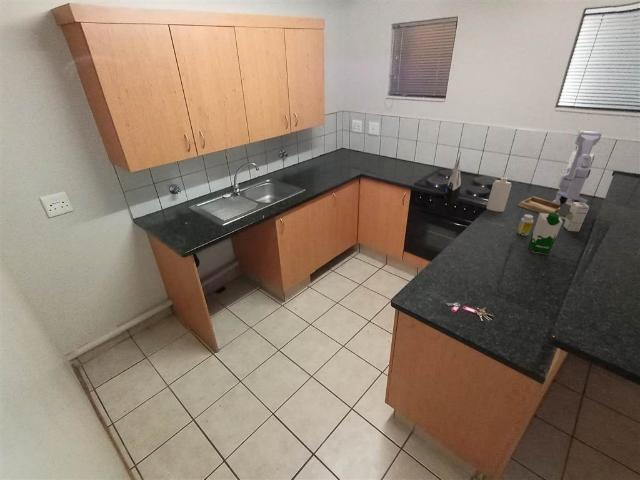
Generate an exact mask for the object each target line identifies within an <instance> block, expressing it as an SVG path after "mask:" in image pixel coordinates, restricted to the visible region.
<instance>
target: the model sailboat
mask: <svg viewBox="0 0 640 480" xmlns="http://www.w3.org/2000/svg"><path fill="white" fill-rule="evenodd" d="M461 154H462V151H460V153H459V155H461ZM460 159H461V156H459V157H458V159H457V161H456V163H455V165H454V167H453V168H452V171H451V173H450V176H449V180H448V181H447V184H446V187H445V188H446V189H445V191H444V194H443V200H444V201H445V202H446V203H448V204H449V205H452V204H455V203H457V202H458V201H459V199H460V193H461V186H462V180H461V165H460V164H461V163H460Z"/></svg>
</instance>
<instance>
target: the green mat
mask: <svg viewBox="0 0 640 480" xmlns="http://www.w3.org/2000/svg"><path fill="white" fill-rule="evenodd" d="M555 214H558V212H557V213H555ZM558 215H559V214H558ZM559 217H560V218H561V220H564V221H565V220H566V217H567V216H566V217H565V216H562V215H559Z"/></svg>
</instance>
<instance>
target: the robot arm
mask: <svg viewBox="0 0 640 480" xmlns="http://www.w3.org/2000/svg"><path fill="white" fill-rule="evenodd" d="M601 137H602V132H601V131H593V130H592V131H590V130H582V129H581V130H580V131H579V132H578V133H577V137H576V139H575V142H574V144H575V145H576V146H577V150H576V152H575V154H574V158H573V160H572V163H571V166H570V168H569V171H568V172H567V173H565V174H562V176H561V177H560V180H559V182H558V185H557V187H558V188H559V189H558V191H557V192H556V194H555V195H556V197H555V199H554V200H552V201H551V202H554V203H558V204H560V207H561V205H562V204H564V203H566V202H569V203H573V202H582V203H585V204H586V203H587V202H588V198H584V197H581V196H580V194H581V191H582V188H583V187H584V185H585V182H586V180H587V179H588V178H589V177H590V174H591V172H592V171H591V170H592V168H591V162H592V158H593V157H592V156H591V153H592V149H593V147H594V146H595V145H597V143H599V141H600V140H601Z"/></svg>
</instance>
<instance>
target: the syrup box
mask: <svg viewBox="0 0 640 480" xmlns="http://www.w3.org/2000/svg"><path fill="white" fill-rule="evenodd" d="M572 202H573V201H572ZM589 209H590V206H589V205H588V204H586V203H582V202H573V203H572V205H571V208H570V210H569V213H568V215H567V217H566V220H564V221H563V224H562V225H563V227H564V228H565V230H567V231H569V232H580V230H581V228H582V225H583V224H584V223H583V222H584V221H585V218H586V216H587V214H588V211H589Z"/></svg>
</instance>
